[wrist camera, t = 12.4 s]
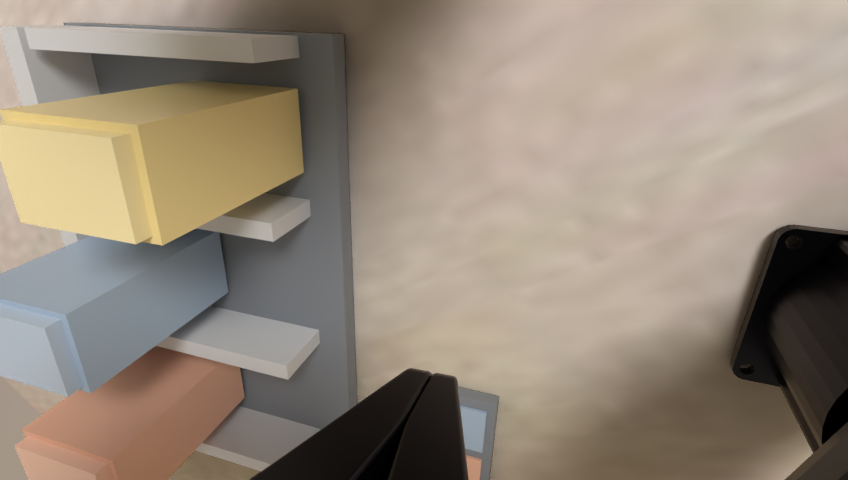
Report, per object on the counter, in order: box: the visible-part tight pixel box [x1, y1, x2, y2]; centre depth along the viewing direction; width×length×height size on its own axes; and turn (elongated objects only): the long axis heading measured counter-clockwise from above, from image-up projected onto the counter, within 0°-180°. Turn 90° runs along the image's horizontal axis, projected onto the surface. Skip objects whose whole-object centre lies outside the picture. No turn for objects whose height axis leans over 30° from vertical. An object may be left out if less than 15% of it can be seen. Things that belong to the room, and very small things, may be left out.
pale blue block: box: [0, 228, 228, 397], centre depth 22 cm, size 4×5×9 cm
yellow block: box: [0, 80, 304, 246], centre depth 18 cm, size 4×5×9 cm
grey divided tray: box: [0, 23, 357, 471], centre depth 24 cm, size 22×14×4 cm, turn 178°
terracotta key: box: [15, 346, 245, 480], centre depth 25 cm, size 4×5×9 cm
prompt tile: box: [458, 387, 499, 480], centre depth 26 cm, size 7×4×1 cm, turn 178°
